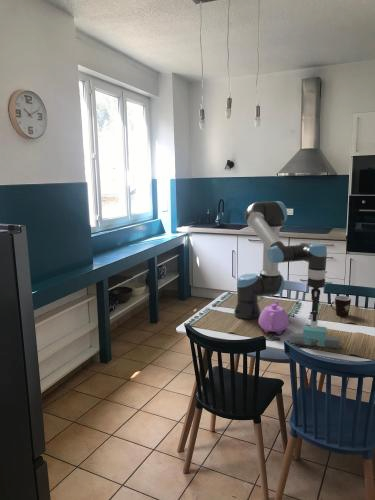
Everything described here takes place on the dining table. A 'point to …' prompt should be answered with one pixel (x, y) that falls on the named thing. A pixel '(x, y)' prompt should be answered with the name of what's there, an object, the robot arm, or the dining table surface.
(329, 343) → the rail
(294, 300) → the dining table surface
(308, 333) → the clip
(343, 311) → the coffee mug
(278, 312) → the teapot
